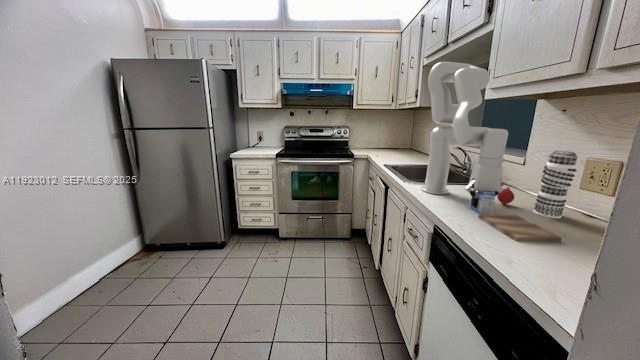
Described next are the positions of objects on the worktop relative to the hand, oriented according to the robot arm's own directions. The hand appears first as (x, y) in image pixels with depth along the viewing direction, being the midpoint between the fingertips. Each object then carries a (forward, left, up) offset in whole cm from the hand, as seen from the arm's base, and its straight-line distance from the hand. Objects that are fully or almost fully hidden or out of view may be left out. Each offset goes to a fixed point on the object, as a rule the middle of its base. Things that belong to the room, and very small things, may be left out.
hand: (480, 206), depth 100 cm
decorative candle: (+2, +26, -2) cm, 26 cm away
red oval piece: (-8, +16, -2) cm, 18 cm away
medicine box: (0, 0, -2) cm, 2 cm away
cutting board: (+16, +2, -2) cm, 16 cm away
